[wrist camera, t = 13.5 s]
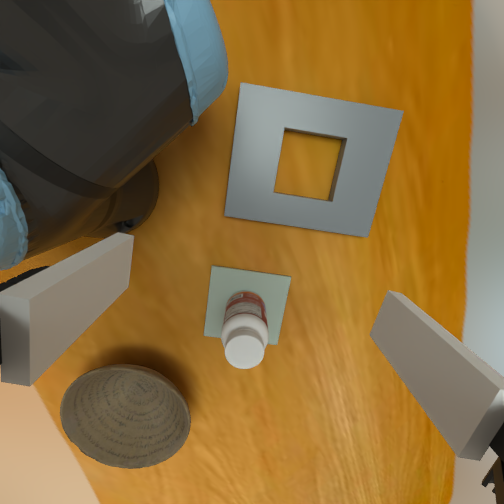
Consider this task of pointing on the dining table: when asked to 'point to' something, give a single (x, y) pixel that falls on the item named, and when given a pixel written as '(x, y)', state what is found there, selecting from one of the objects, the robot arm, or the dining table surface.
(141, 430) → the bowl
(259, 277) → the mat
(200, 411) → the dining table surface
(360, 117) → the socket block
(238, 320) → the pill bottle
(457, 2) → the dining table surface
